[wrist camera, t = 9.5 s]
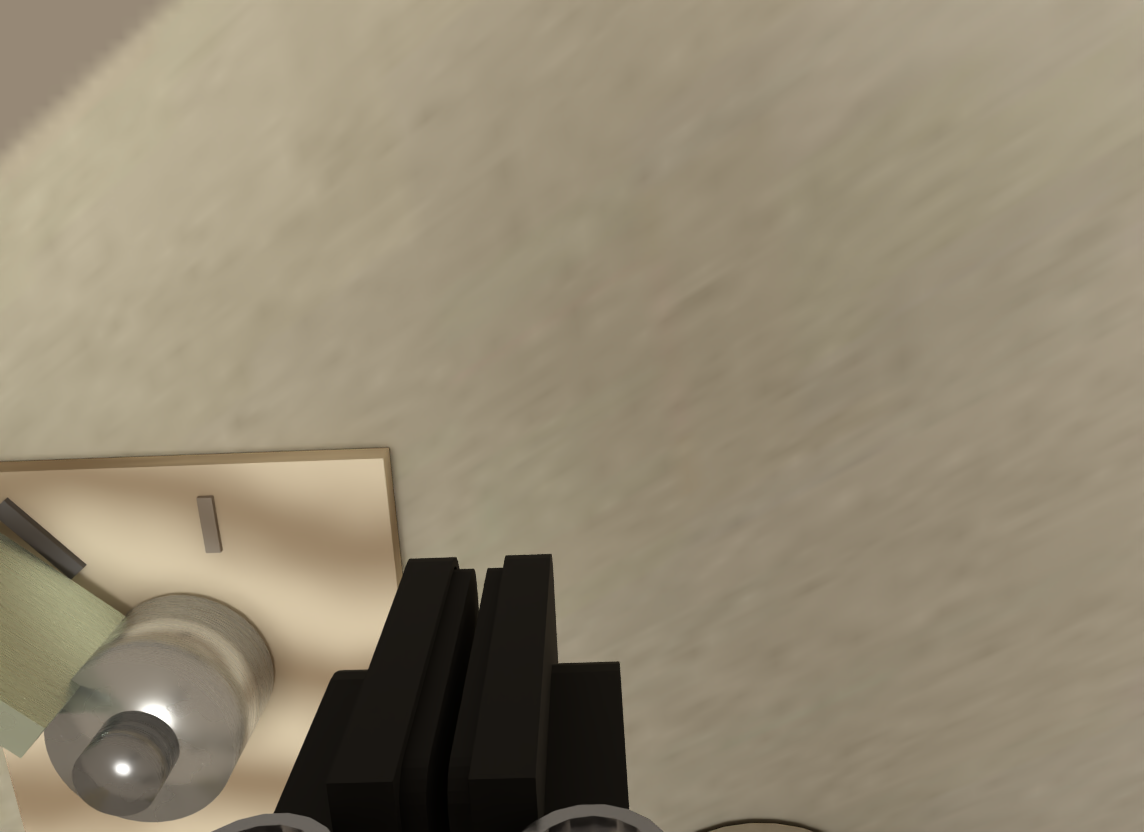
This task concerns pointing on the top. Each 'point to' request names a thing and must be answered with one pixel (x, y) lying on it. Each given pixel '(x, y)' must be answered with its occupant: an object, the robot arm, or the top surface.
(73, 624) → the green panel with knob
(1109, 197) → the top surface
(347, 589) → the board
